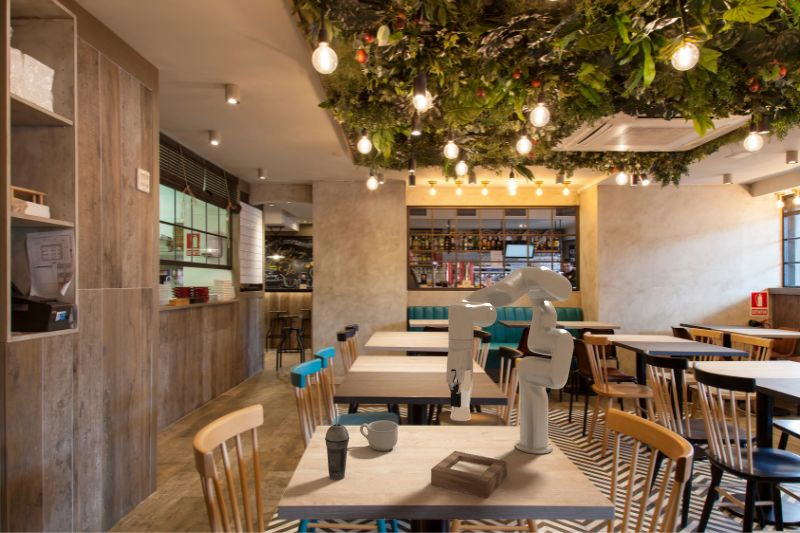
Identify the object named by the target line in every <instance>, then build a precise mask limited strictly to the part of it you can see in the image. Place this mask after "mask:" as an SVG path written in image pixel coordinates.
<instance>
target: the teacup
mask: <svg viewBox="0 0 800 533" xmlns="http://www.w3.org/2000/svg"><path fill="white" fill-rule="evenodd" d="M364 427H365V428H366V430H367V433H366V432H365V430H364ZM398 430H399V424H398V423H396V422H395V421H391V420H376V421H372V422H370V423H362V424H360V427H359V432H360V434H361V435H362V436H363V437H364V438H365V439H366V440H367V441H368V445H369V446H370V447H372V449H374V450H375V451H378V452H386V451H390V450H392V449H393V448H394V447H395V446H396V445H397V443H398V439H399V438H398V437H399V431H398Z"/></svg>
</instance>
